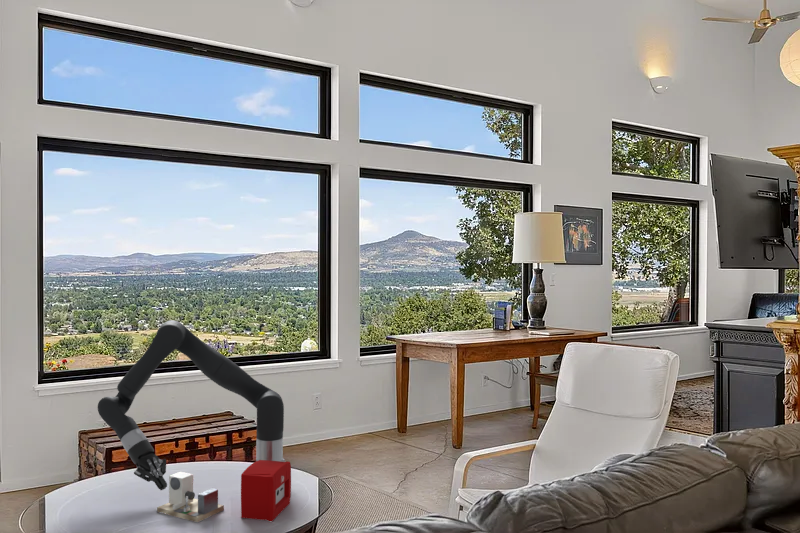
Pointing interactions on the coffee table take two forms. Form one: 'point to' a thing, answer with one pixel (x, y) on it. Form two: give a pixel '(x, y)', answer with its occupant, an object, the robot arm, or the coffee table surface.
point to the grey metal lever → (186, 508)
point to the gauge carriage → (180, 489)
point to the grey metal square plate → (208, 501)
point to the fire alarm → (265, 489)
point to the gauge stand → (189, 515)
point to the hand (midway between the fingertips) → (164, 488)
